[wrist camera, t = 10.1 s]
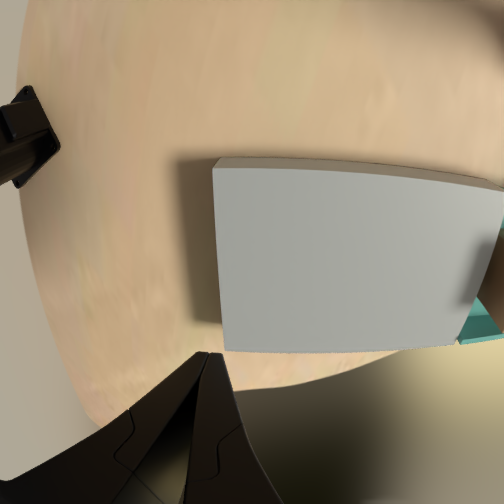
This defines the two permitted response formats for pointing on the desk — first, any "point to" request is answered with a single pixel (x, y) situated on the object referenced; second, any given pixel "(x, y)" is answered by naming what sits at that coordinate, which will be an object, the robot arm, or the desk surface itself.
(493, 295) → the brick
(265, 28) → the desk surface
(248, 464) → the robot arm
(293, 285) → the plate
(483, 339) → the tray
